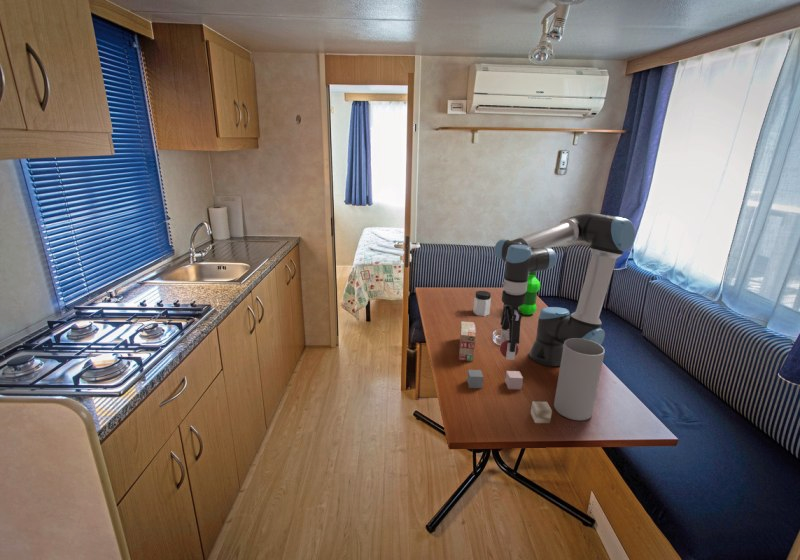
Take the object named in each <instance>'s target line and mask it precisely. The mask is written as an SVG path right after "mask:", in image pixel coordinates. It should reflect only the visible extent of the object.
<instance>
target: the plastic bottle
mask: <svg viewBox="0 0 800 560" xmlns="http://www.w3.org/2000/svg"><path fill="white" fill-rule="evenodd" d="M536 275H537V272H532V273H529V274H528V283H527V291H526V292H525V294H526V297H525V303H524V304H523V305H521V306H519V307H518V308H519V312H520V313H521V314H522V315H525V316H530V315H532V314H535V312H536V311H537V310H538V309H537V308H538V307H537V303H536V301H537V297H538V292H539V291H540V290H541V282H540V281H539V279H537V277H536Z"/></svg>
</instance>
